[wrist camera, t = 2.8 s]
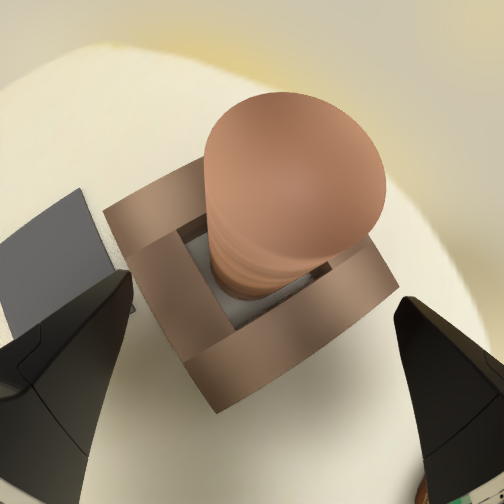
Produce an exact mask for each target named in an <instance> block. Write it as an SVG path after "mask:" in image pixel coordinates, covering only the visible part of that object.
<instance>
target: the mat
mask: <svg viewBox="0 0 504 504" xmlns="http://www.w3.org/2000/svg"><path fill="white" fill-rule="evenodd" d="M114 271H115V269H114V267H113V265H112V262H111V260H110V258H109V256H108V254H107V252H106V249H105V247H104V245H103V243H102V240H101V238H100V236H99V233H98V231H97V229H96V226H95V224H94V222H93V219H92V217H91V214H90V212H89V209H88V207H87V204H86V202H85V199H84V196H83V194H82V191H81V189H80V188H78V189H76V190H75V191H73V192H72V193H70V194H69V195H67V196H66V197H64V198H63V199H61V200H60V201H58V202H57V203H55V204H54V205H52V206H51V207H49V208H48V209H46V210H45V211H43V212H42V213H41V214H39V215H38V216H36V217H35V218H34V219H32V220H31V221H29V222H28V223H27V224H25V225H24V226H23V227H21V228H20V229H19V230H17V231H16V232H15V233H14V234H12V235H11V236H10V237H8V238H7V239H6V240H5V241H3V242H2V243H1V244H0V302H1V305H2V308H3V311H4V314H5V317H6V320H7V323H8V325H9V328H10V331H11V333H12V336H13V338H14V339H16V338H18V337H19V336H21V335H22V334H23V333H25V332H26V331H28V330H29V329H31V328H32V327H33V326H35V325H36V324H38V323H40V322H41V321H42V320H43V319H45V318H46V317H48V316H49V315H50V314H52V313H53V312H55V311H56V310H58V309H59V308H60V307H62V306H63V305H65V304H66V303H68V302H69V301H71V300H72V299H74V298H75V297H77V296H78V295H80V294H81V293H83V292H84V291H85V290H87V289H88V288H90V287H92V286H93V285H95V284H96V283H98V282H99V281H101V280H102V279H104V278H105V277H107V276H108V275H110V274H111V273H113V272H114ZM134 311H136V310H135V308H134V307H133V305H131V309H130V313H129V314H131V313H133V312H134Z"/></svg>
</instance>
